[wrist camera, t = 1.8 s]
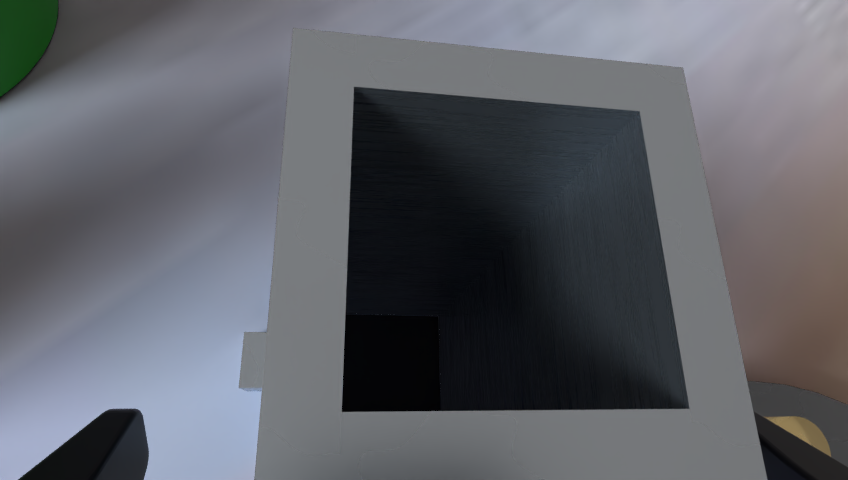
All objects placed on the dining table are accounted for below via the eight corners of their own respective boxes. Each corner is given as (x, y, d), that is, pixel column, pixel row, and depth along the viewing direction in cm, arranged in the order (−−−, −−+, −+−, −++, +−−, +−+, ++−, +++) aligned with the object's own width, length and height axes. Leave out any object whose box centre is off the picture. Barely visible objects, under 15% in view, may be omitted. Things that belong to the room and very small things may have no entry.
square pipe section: (528, 510, 17) (1028, 735, 5) (234, 522, 15) (-125, 880, 3) (509, 243, 20) (788, -40, 8) (262, 233, 18) (124, -134, 6)
